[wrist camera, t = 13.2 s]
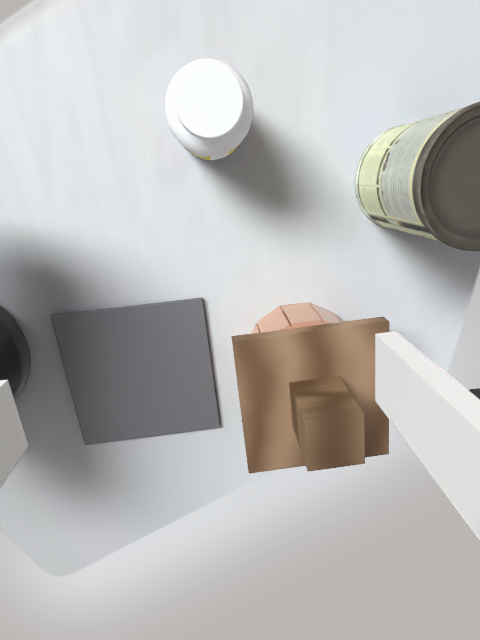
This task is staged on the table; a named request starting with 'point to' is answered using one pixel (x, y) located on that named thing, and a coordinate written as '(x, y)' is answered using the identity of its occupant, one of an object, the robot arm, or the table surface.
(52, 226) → the table surface
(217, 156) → the supplement bottle
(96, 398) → the rubber mat
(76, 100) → the table surface
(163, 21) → the table surface
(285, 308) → the terracotta bowl
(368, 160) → the coffee can
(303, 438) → the walnut lid
